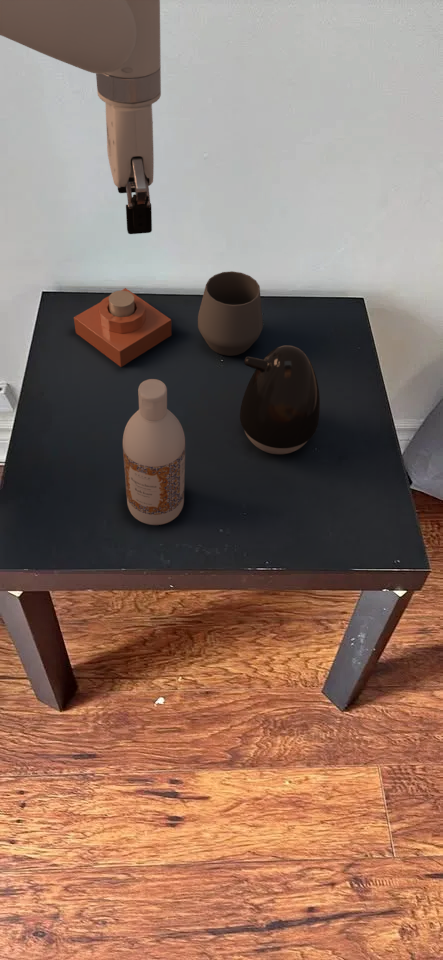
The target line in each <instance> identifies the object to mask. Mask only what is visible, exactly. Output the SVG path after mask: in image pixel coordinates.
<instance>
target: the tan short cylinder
mask: <svg viewBox="0 0 443 960" xmlns="http://www.w3.org/2000/svg"><path fill="white" fill-rule="evenodd" d="M130 292H131V291H130ZM130 292H128V291H121V290H116V291H113V292H111V294H109V295H108V296H109V309H110V313H111V314H112V315H113V316H117V317H127V316H130V315H132V314H133V313H134V311H135V303H134V296H133V295H132V294H131V293H130Z"/></svg>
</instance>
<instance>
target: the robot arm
mask: <svg viewBox="0 0 443 960" xmlns="http://www.w3.org/2000/svg"><path fill="white" fill-rule="evenodd" d="M0 36H1V37H4V38H6V39H8V40H10V41H13V42H15V43H18V44H20V45H22V46H24V47H27V48H29V49H31V50H34V51H36V52H38V53H40V54H42V55H45V56H48V57H50V58H52V59H55V60H57V61H60V62H62V63H65V64H68V65H70V66H73V67H75V68H78V69H81V70H83V71H86V72H89V73H91V74H95V79H96V91H97V92H96V93H97V96H98V99H100V100H101V101H102V102H103V103H105V125H106V126H105V127H106V151H107V159H108V163H109V167H110V172H111V178H112V180H113V184H114V185H115V187H117V192H118V193H119V194H126V198H127V204H125V212H126V213H125V215H126V219H125V220H126V232H127V234H129V235H139V234H140V235H141V234H149V233H150V234H151V233H152V231H153V222H152V221H153V218H152V203H151V195H150V186H152V184H153V183H154V170H155V169H154V167H155V166H154V163H155V162H154V161H155V159H154V156H155V155H154V125H153V124H154V121H153V119H154V118H153V104H155V103H157V102H158V101H159V100H160V98H161V96H162V69H161V68H162V65H161V64H162V62H161V57H162V56H161V0H0ZM133 193H135V194H133Z"/></svg>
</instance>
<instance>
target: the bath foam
mask: <svg viewBox="0 0 443 960" xmlns="http://www.w3.org/2000/svg"><path fill="white" fill-rule="evenodd" d="M137 391H138V392H137V393H138V410H137V411H136V412H135V413H133V414H132V416H131V417H130V418H129V420H128V421H127V423H126V425H125V428H124V429H123V430H124V431H123V436H122V456H123V466H124V467H123V468H124V479H125V482H124V483H125V495H126V505H127V508H128V510H129V512H130V514H131V515H132V516H133V518H134V519H136V520H137V521H139V522H141V523H142V524H145V525H149V526H159V525H160V526H161V525H165V524H169V523H170V522H172V521H173V520H175V519H176V518H177V517H179V515H180V513H181V512H182V511H183V508H184V503H185V482H186V481H185V480H186V479H185V478H186V477H185V476H186V475H185V474H186V437H185V431H184V429H183V426H182V424H181V422H180V419H178V418H177V416H176V415H175V414H174V413H173V412H171V410H169V409H168V387H167V386H166V384H165V383H164V382H163V381H161V380H159V379H156V378H149V379H146V380H143V381H142V382H141V383H140V384H139V386H138V389H137Z"/></svg>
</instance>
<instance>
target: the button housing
mask: <svg viewBox="0 0 443 960" xmlns="http://www.w3.org/2000/svg"><path fill="white" fill-rule="evenodd" d="M120 291H128V292H130V293H131V294H132V295H133V296H134V303H135V311H134V313H133V314H132V315H130V316H127V317H117V316H113V315H112V314H111V313H110V309H109V296H110V295H108V296H106V297H104V298H103V299H102V300H101V301H100V302H98V303H97V304H94V305H93V306H91V307H90V308H88V309H85V310H83V311H82V312H81V313H78V314H76V315H75V316H74V317H73V321H74V331H75V334H76V335H78V336H79V337H80V338H82V339H83V340H84V341H86V343H88V344H90V345H91V346H92V347H93V348H95V349H96V350H98V351H99V352H100V353H101V354H103V355H104V356H106V358H108V359H109V360H111V361H112V362H114V363H115V364H116V365H117V366H118V367H120V368H122V367H124V366H126V365H127V364H128V363H130V362H132V361H133V360H134V359H137V358H138V357H140V356H141V355H143V354H144V353H146V352H147V351H149V350H151V349H152V348H154V347H155V346H157V345H159V344H160V343H162V342H163V341H165V340H166V339H168V338H170V337H171V336H172V319H171V318H170V317H168V316H167V315H165V314H164V313H162V312H161V311H159V310H158V309H156V308H155V307H154V306H152V305H151V304H149V303H148V302H147V301H145V300H143V299H142V298H141V297H140V296H137V294H135V293H133V292H132V291H131V290H130V289H128V288H126V287H125V288H123V289H120Z"/></svg>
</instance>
